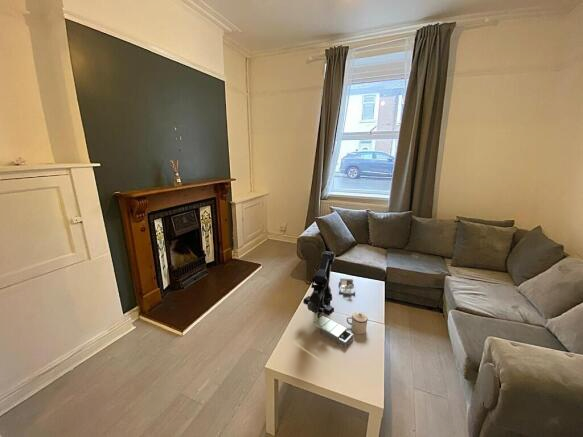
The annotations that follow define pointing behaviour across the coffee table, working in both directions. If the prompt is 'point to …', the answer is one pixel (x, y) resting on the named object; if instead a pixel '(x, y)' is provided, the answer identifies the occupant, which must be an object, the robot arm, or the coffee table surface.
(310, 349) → the coffee table surface
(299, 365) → the coffee table surface
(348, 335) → the tub
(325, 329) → the lid
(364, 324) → the teacup with lid
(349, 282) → the toy rover
